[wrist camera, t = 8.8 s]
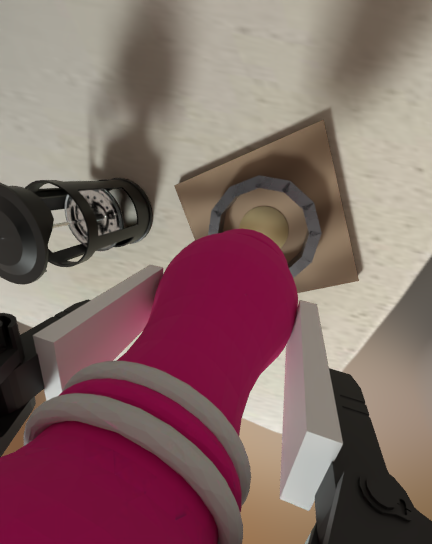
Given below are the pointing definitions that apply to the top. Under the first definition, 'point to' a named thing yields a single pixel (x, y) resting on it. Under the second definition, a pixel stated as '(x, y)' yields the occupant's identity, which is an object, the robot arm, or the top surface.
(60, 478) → the pepper mill
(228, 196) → the iron collar
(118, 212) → the french press
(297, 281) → the collar plate
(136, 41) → the top surface
